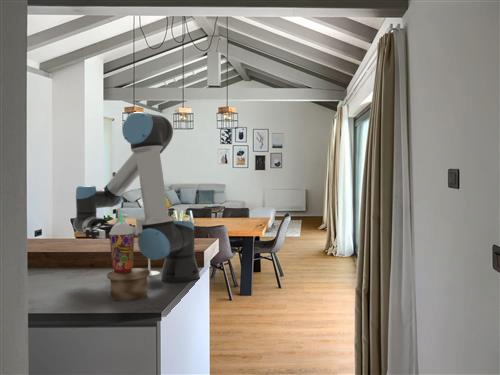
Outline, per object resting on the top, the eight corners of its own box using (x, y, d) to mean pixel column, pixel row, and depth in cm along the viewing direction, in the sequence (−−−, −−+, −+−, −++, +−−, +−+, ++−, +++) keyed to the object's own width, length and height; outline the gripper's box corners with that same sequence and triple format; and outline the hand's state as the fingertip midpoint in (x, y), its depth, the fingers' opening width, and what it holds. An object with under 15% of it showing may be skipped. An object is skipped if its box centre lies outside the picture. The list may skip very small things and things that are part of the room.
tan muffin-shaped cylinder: (146, 288, 163) (146, 266, 162) (153, 298, 150) (152, 274, 149) (106, 293, 157) (105, 270, 157) (109, 303, 144) (108, 279, 144)
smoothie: (121, 275, 149) (119, 215, 149) (105, 272, 154) (103, 214, 153) (140, 270, 156) (138, 213, 156) (124, 268, 161) (122, 212, 160)
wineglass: (156, 276, 182) (154, 220, 181) (133, 275, 184) (131, 219, 183) (164, 271, 191) (163, 217, 190) (143, 270, 193) (141, 217, 192)
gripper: (125, 234, 178) (151, 240, 162) (64, 240, 163) (87, 248, 146) (124, 215, 178) (151, 219, 161) (64, 219, 163) (86, 225, 146)
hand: (120, 233), depth 154 cm, fingers open, 11 cm apart
